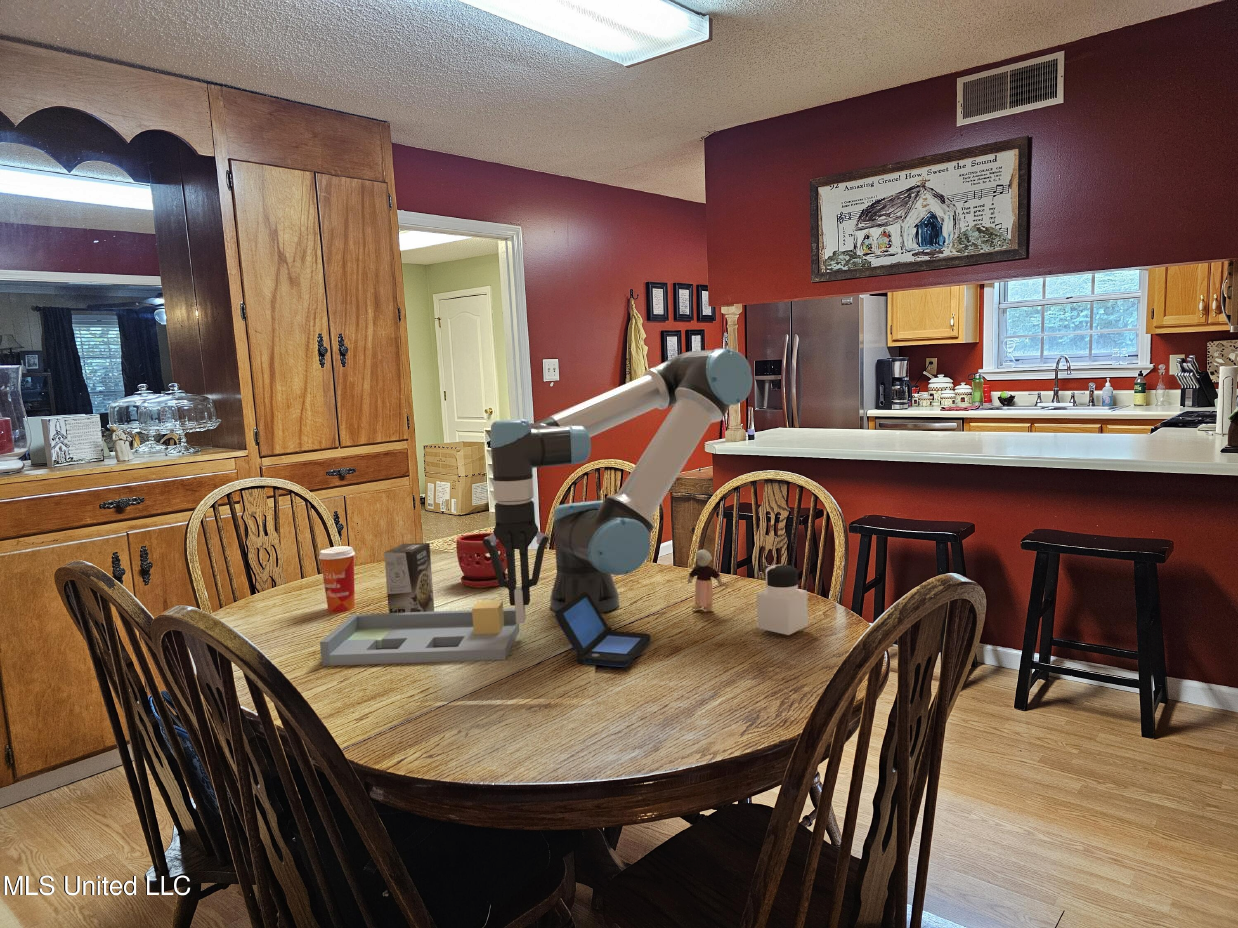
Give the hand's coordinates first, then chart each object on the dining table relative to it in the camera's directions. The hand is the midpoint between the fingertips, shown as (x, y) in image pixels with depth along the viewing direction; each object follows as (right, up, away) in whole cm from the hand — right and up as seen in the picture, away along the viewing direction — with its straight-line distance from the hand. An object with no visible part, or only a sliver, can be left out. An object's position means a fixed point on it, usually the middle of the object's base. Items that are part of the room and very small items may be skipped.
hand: (521, 621), depth 155 cm
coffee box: (-25, -3, +15) cm, 29 cm away
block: (-6, -2, 0) cm, 6 cm away
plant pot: (-14, +1, +43) cm, 45 cm away
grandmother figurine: (+37, 0, +15) cm, 40 cm away
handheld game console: (+17, -4, -8) cm, 19 cm away
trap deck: (-18, -5, -2) cm, 19 cm away
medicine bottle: (+51, -1, 0) cm, 51 cm away
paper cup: (-43, -3, +25) cm, 50 cm away
